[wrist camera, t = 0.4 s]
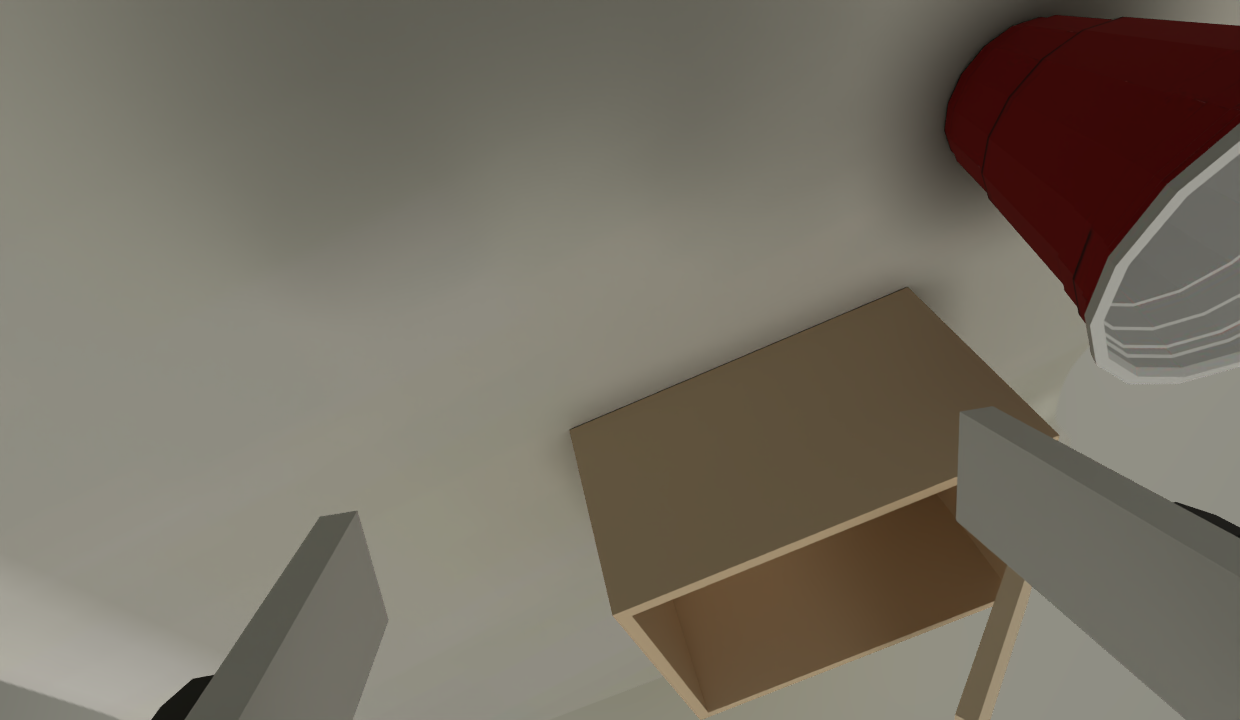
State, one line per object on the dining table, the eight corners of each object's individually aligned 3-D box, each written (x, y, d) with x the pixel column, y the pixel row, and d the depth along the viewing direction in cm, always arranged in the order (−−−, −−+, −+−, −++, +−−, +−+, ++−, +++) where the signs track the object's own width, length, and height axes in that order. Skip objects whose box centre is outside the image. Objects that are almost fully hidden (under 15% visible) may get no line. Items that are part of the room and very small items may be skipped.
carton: (569, 430, 32) (612, 615, 24) (907, 287, 31) (1059, 435, 23) (651, 558, 41) (700, 720, 34) (912, 451, 40) (1022, 594, 33)
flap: (1042, 463, 24) (955, 714, 20) (1061, 468, 24) (976, 725, 19) (1014, 596, 32) (947, 795, 28) (1028, 601, 32) (962, 804, 27)
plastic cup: (829, 121, 24) (1060, 296, 15) (1092, -144, 20) (1603, -114, 12) (947, 263, 31) (1161, 446, 22) (1166, 80, 27) (1536, 211, 18)
